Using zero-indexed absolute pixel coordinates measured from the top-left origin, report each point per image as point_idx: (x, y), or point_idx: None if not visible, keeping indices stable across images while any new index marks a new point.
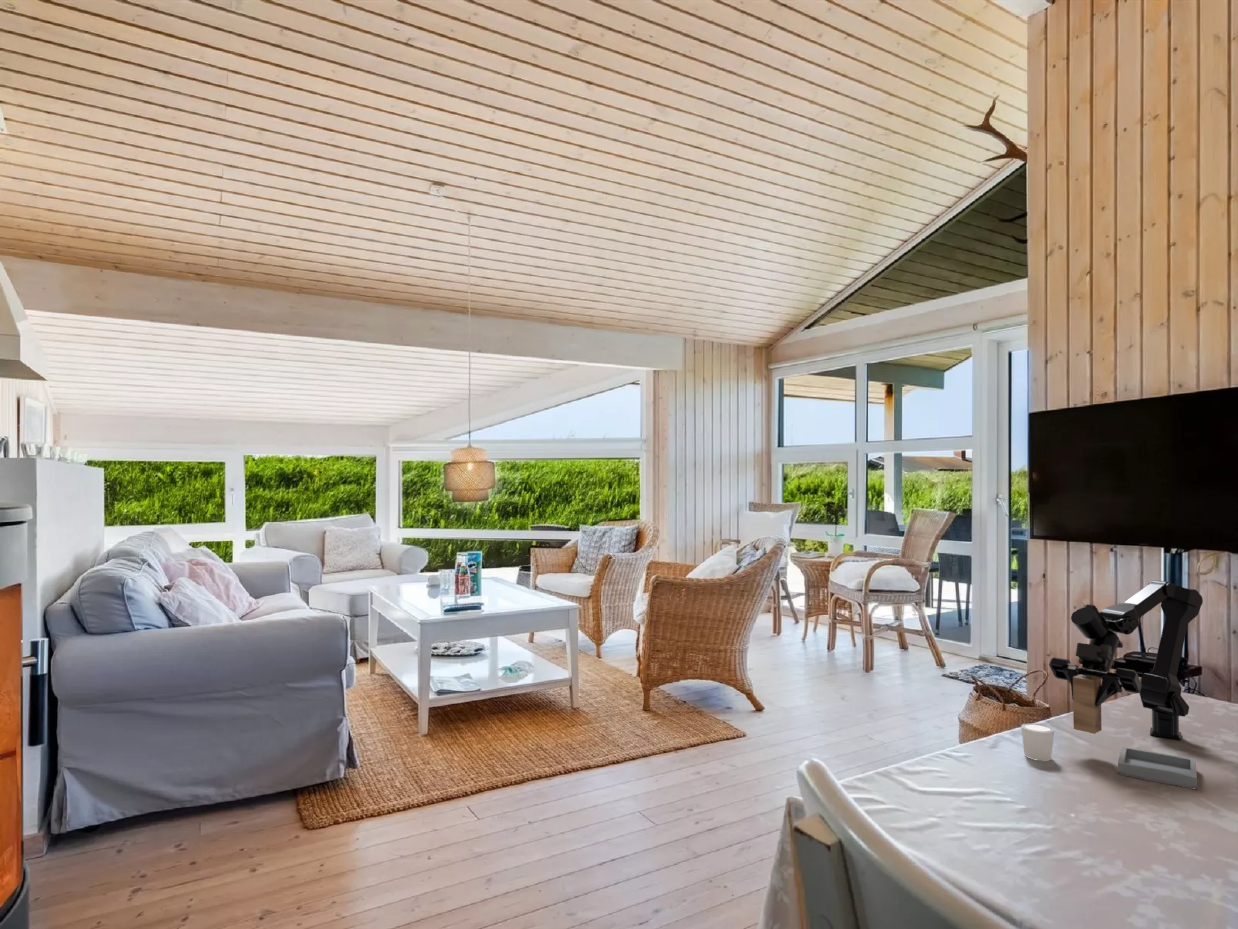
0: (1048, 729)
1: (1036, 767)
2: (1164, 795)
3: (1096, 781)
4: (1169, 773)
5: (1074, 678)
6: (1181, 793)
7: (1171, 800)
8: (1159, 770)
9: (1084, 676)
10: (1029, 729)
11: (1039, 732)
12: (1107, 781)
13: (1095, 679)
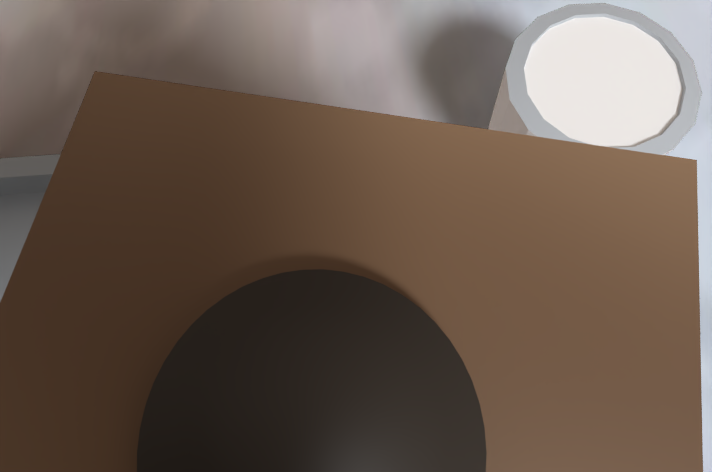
0: (541, 95)
1: (498, 35)
2: (77, 49)
3: (286, 33)
4: (9, 158)
5: (625, 173)
6: (18, 107)
7: (61, 18)
8: (43, 160)
9: (396, 459)
10: (622, 13)
11: (560, 10)
12: (252, 59)
13: (32, 313)
